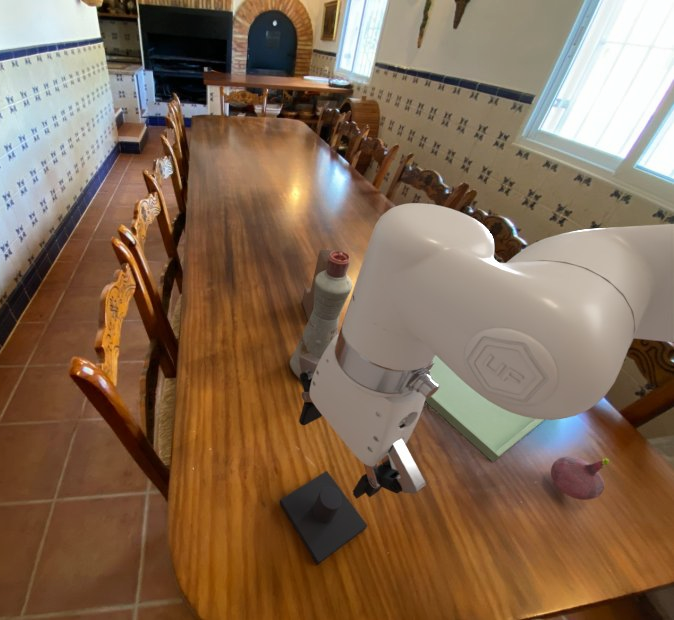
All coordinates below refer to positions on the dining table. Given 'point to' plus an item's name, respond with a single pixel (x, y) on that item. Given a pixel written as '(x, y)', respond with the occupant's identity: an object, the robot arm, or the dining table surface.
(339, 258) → the bottle
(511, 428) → the pale green flat tray
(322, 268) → the wooden block
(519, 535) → the dining table surface
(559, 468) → the vegetable
